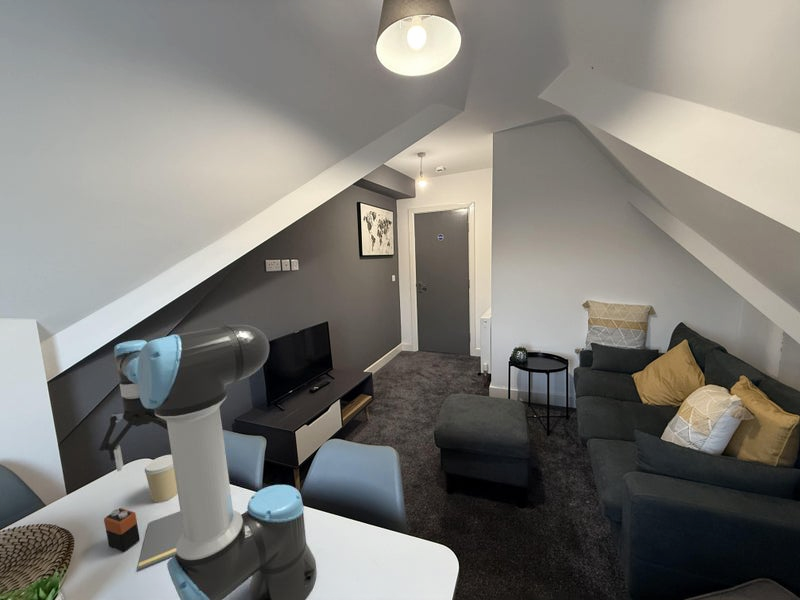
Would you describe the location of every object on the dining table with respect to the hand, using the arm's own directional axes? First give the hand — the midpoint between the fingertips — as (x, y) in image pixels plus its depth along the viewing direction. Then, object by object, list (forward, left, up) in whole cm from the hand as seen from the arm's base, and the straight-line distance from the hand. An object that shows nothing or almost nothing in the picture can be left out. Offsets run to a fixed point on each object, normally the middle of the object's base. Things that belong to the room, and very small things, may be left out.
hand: (149, 461), depth 97 cm
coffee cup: (+14, -1, -20) cm, 25 cm away
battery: (-4, +7, -20) cm, 22 cm away
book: (-8, -5, -20) cm, 22 cm away
